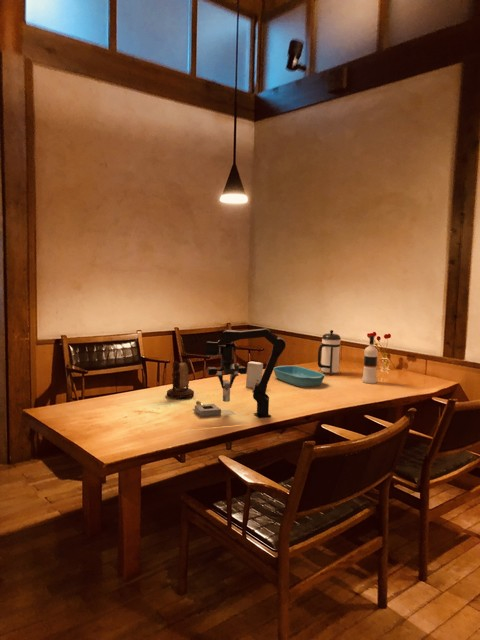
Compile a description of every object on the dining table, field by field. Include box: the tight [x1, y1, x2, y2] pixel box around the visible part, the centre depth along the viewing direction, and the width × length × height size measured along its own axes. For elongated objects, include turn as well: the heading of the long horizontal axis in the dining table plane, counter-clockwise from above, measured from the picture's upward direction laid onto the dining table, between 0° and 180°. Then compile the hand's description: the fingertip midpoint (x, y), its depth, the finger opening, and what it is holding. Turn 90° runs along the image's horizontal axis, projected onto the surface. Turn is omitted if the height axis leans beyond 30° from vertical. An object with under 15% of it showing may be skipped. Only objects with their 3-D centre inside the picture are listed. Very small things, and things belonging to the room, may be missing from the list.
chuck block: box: [192, 400, 222, 418], centre depth 255 cm, size 20×10×4 cm, turn 22°
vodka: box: [361, 335, 379, 385], centre depth 331 cm, size 9×9×30 cm
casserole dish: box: [273, 365, 326, 388], centre depth 328 cm, size 37×22×7 cm, turn 32°
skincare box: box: [245, 361, 264, 389], centre depth 309 cm, size 8×6×15 cm
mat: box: [221, 409, 236, 416], centre depth 254 cm, size 8×6×1 cm
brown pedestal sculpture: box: [166, 359, 195, 400], centre depth 282 cm, size 15×15×20 cm
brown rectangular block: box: [222, 379, 231, 403], centre depth 252 cm, size 4×8×9 cm, turn 11°
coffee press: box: [317, 329, 342, 376], centre depth 353 cm, size 17×16×30 cm
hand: (226, 388), depth 252 cm, fingers closed on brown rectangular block, 3 cm apart
